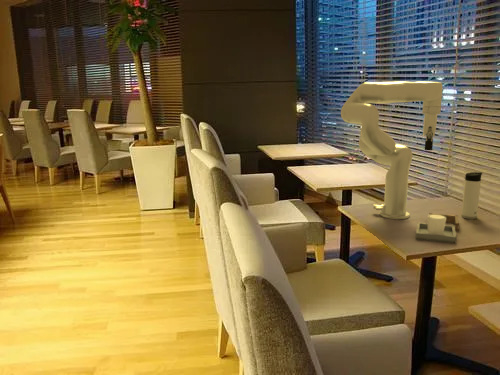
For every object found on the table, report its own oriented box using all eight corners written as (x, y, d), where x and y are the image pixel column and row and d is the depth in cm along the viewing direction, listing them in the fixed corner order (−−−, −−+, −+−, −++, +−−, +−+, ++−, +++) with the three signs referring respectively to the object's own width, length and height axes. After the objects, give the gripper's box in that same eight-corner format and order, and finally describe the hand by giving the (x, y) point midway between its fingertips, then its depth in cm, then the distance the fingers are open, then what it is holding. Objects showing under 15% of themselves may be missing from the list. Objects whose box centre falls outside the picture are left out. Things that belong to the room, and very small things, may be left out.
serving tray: (415, 239, 181) (416, 233, 181) (416, 228, 194) (417, 222, 194) (455, 243, 176) (456, 237, 176) (454, 232, 189) (454, 226, 189)
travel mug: (479, 219, 205) (484, 174, 200) (463, 218, 206) (467, 173, 202) (475, 215, 211) (480, 171, 206) (459, 214, 212) (464, 170, 208)
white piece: (423, 231, 188) (424, 214, 186) (439, 230, 189) (441, 213, 187) (431, 237, 181) (432, 219, 180) (448, 236, 182) (449, 218, 180)
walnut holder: (428, 227, 195) (428, 220, 194) (428, 219, 206) (429, 213, 205) (458, 230, 191) (459, 223, 190) (457, 222, 202) (457, 215, 201)
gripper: (423, 109, 221) (420, 145, 225) (422, 111, 206) (419, 151, 209) (440, 109, 219) (437, 146, 223) (440, 112, 203) (437, 151, 207)
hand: (428, 148), depth 216 cm, fingers open, 9 cm apart
